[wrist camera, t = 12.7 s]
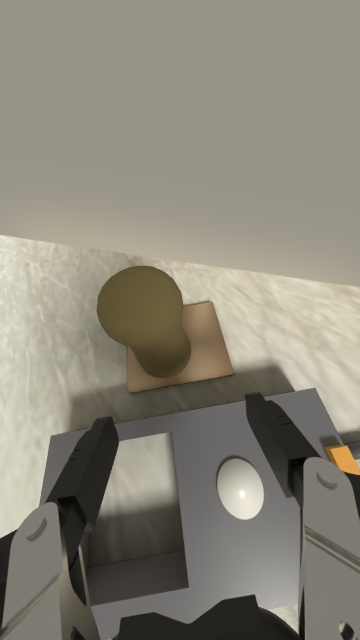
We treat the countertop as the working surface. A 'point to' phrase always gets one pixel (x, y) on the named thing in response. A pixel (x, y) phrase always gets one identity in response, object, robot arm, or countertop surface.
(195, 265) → the countertop surface
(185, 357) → the pepper shaker
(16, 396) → the countertop surface
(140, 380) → the cork pad
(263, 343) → the countertop surface
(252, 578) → the charging strip
